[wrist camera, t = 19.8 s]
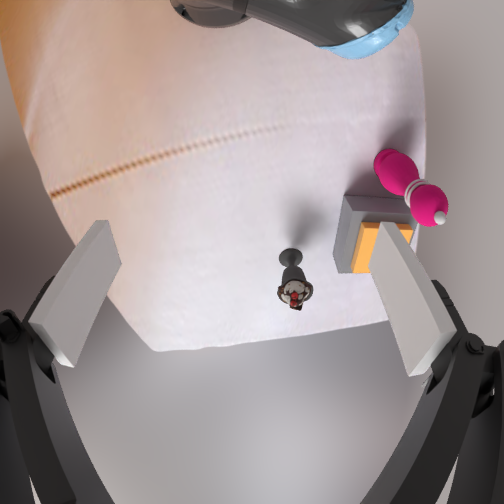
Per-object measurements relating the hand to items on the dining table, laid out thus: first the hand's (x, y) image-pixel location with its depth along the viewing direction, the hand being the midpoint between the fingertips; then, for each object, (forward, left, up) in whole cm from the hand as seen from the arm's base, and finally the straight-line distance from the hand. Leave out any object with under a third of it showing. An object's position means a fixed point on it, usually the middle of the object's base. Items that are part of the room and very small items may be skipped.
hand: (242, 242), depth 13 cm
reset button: (+22, +24, -35) cm, 48 cm away
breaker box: (+22, +24, -37) cm, 49 cm away
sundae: (+30, +8, -37) cm, 48 cm away
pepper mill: (+8, +25, -37) cm, 45 cm away
